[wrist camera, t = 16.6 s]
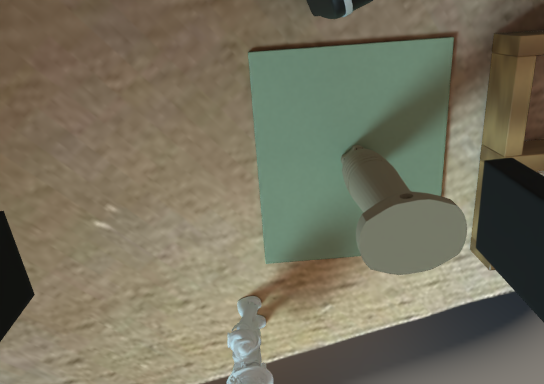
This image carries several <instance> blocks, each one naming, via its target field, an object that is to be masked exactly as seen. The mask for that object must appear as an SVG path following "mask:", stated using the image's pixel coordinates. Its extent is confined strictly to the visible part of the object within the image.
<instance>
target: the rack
mask: <svg viewBox="0 0 544 384" xmlns="http://www.w3.org/2000/svg"><path fill="white" fill-rule="evenodd" d="M536 55H544V30H538V31H525V32H511V33H498V34H494V38H493V47H492V58H491V66H490V75H489V84H488V93H487V102H486V111H485V120H484V129H483V138H482V147H481V156H480V165H479V174H478V182H477V191H476V200H475V209H474V218H473V227H472V237H471V245H470V250H471V251H472V252H473V253H474V254H475V255H476V256H477V258H478V259H479V260H480V261H481V262H482V263H483V264H484V265H485V266H486V267H487V268H488V269H489V270H495V268H494V267H493V266H492V265H491V264H490V263H489V262H488V261H487V260H486V259H485V258H484V256H483V255H482V254H481V253H480V252H479V251H478V250H477V249H476V238H477V228H478V218H479V208H480V199H481V189H482V179H483V169H484V160H493V159H502V158H514V159H516V160H517V161H519V162H521V163H522V164H524V165H526V166H527V167H529V168H531V169H532V170H534V171H541V170H544V139H541V140H529V141H524V138H525V131H526V124H527V117H528V111H529V104H530V97H531V90H532V84H533V77H534V70H535V64H536V57H537V56H536Z"/></svg>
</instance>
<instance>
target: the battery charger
mask: <svg viewBox="0 0 544 384" xmlns="http://www.w3.org/2000/svg"><path fill="white" fill-rule="evenodd" d="M371 1H373V0H307V3H308V5H309V7H310V10H311V12H312V14H313V15H314V16H321V17H324V18H328V19H337V18H340V17H345V16H347V15H349V14H351V13H352V12H353V11H354V10H356V9H358V8H360V7H362V6H364V5H365V4H367V3H369V2H371Z"/></svg>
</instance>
